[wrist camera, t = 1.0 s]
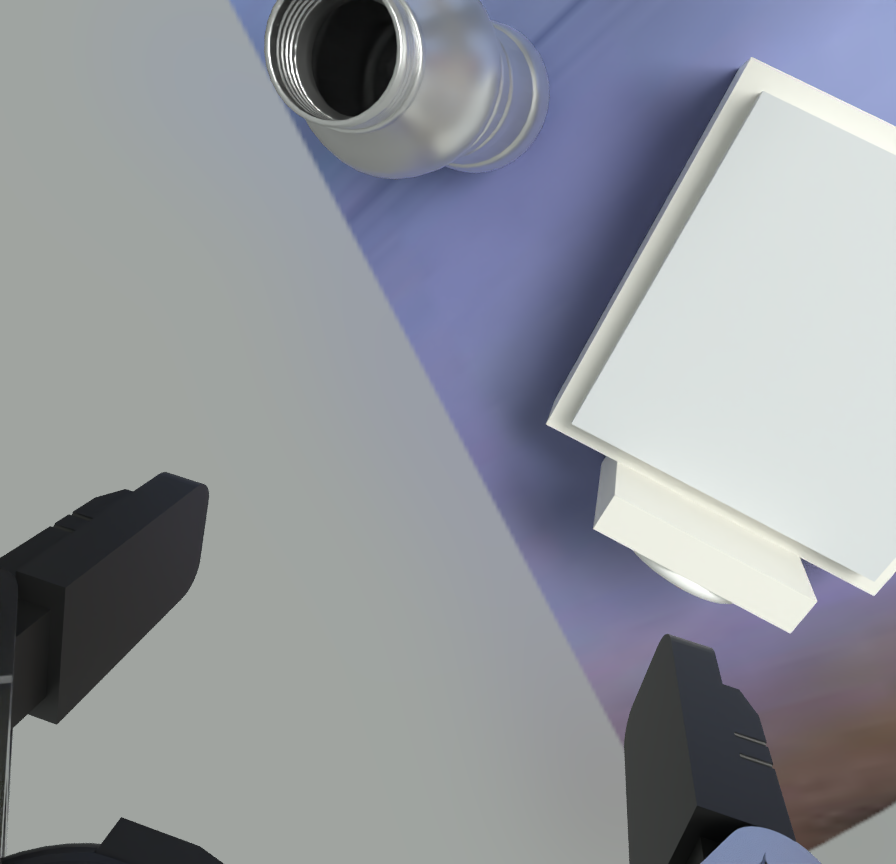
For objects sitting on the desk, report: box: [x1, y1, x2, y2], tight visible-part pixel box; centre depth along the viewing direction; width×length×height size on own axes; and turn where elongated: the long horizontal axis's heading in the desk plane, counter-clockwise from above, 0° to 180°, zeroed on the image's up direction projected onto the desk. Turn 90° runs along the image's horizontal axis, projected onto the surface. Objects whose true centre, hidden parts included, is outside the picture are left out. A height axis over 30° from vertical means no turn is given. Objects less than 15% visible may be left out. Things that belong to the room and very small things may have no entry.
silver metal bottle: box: [264, 0, 550, 179], centre depth 27 cm, size 6×7×20 cm
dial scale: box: [546, 57, 896, 633], centre depth 34 cm, size 21×18×8 cm
